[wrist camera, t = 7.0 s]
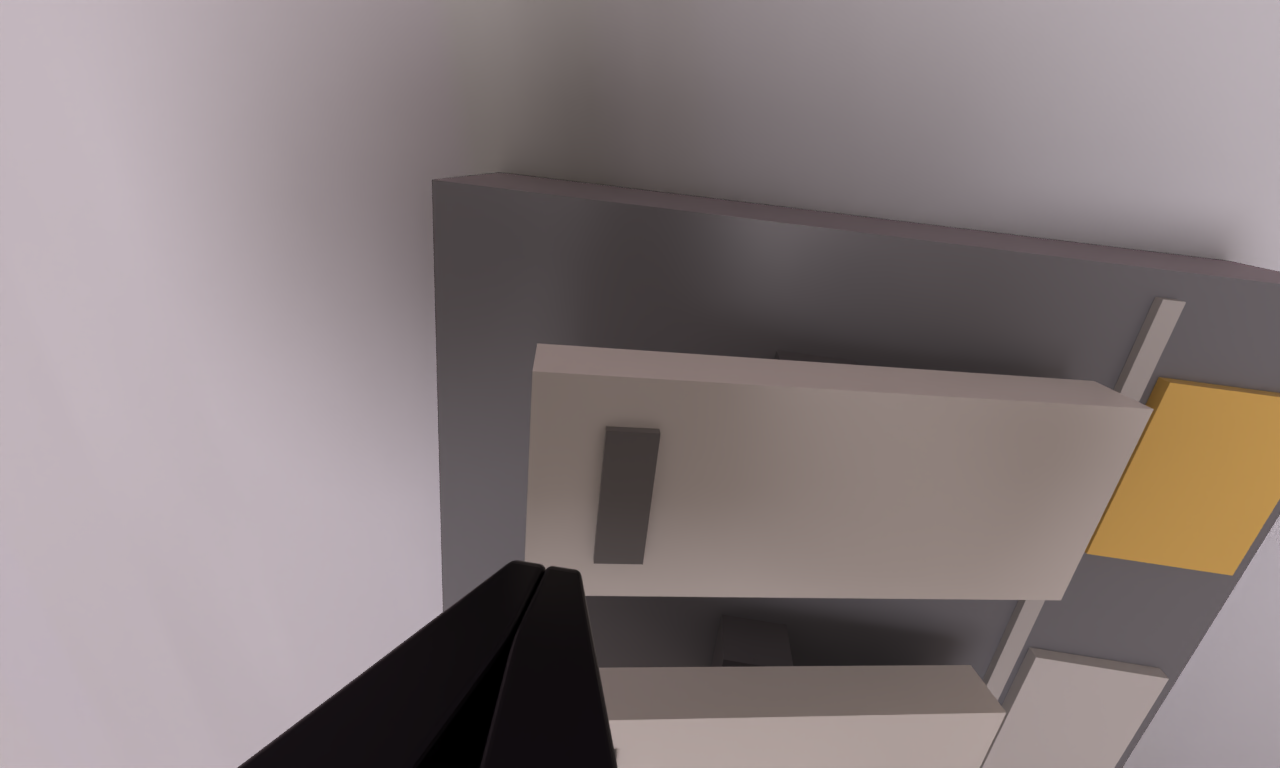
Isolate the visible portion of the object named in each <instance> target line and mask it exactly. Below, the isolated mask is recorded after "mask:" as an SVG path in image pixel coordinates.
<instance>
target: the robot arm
mask: <svg viewBox="0 0 1280 768" xmlns="http://www.w3.org/2000/svg"><path fill="white" fill-rule="evenodd" d="M238 768H617V762H616V757H615V752H614V746H613V741H612V736H611V730H610V725H609V720H608V714H607V709H606V704H605V698H604V693H603V688H602V682H601V677H600V672H599V666H598V661H597V655H596V650H595V645H594V639H593V634H592V629H591V623H590V618H589V613H588V607H587V602H586V597H585V591H584V586H583V581H582V576H581V573H580V572H579V571H578V570H576V569H570V568H564V567H557V566H550V567H548V568H547V569H545V567H544V566H543V565H542V564H539V563H532V562H526V561H520V560H513V561H511V562H509V563H507V564H506V565H505V566H503V567H502V568H501V569H500V570H498V571H497V572H496V573H494V574H493V575H492V576H490V577H489V578H488V579H486V580H485V581H484V582H482V583H481V584H480V585H478V586H477V587H476V588H474V589H473V590H472V591H470V592H469V593H468V594H466V595H465V596H464V597H462V598H461V599H460V600H459V601H457V602H456V603H455V604H453V605H452V606H451V607H449V608H448V609H447V610H445V611H444V612H443V613H441V614H440V615H439V616H437V617H436V618H435V619H433V620H432V621H431V622H429V623H428V624H427V625H425V626H424V627H423V628H422V629H420V630H419V631H418V632H416V633H415V634H414V635H412V636H411V637H410V638H408V639H407V640H406V641H404V642H403V643H402V644H400V645H399V646H398V647H396V648H395V649H394V650H392V651H391V652H390V653H388V654H387V655H386V656H384V657H383V658H382V659H381V660H379V661H378V662H377V663H375V664H374V665H373V666H371V667H370V668H369V669H367V670H366V671H365V672H363V673H362V674H361V675H359V676H358V677H357V678H355V679H354V680H353V681H351V682H350V683H349V684H347V685H346V686H345V687H343V688H342V689H341V690H340V691H338V692H337V693H336V694H334V695H333V696H332V697H330V698H329V699H328V700H326V701H325V702H324V703H322V704H321V705H320V706H318V707H317V708H316V709H314V710H313V711H312V712H310V713H309V714H308V715H306V716H305V717H304V718H302V719H301V720H300V721H299V722H297V723H296V724H295V725H293V726H292V727H291V728H289V729H288V730H287V731H285V732H284V733H283V734H281V735H280V736H279V737H277V738H276V739H275V740H273V741H272V742H271V743H269V744H268V745H267V746H265V747H264V748H263V749H262V750H260V751H259V752H258V753H256V754H255V755H254V756H252V757H251V758H250V759H248V760H247V761H246V762H244V763H243V764H242V765H240V766H239V767H238Z"/></svg>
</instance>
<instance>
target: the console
mask: <svg viewBox="0 0 1280 768" xmlns="http://www.w3.org/2000/svg"><path fill="white" fill-rule="evenodd" d="M432 200H433V239H434V278H435V317H436V356H437V395H438V434H439V473H440V512H441V551H442V590H443V612H444V611H445V610H447V609H448V608H449V607H451V606H452V605H453V604H455V603H456V602H457V601H459V600H460V599H461V598H462V597H464V596H465V595H466V594H468V593H469V592H470V591H472V590H473V589H474V588H476V587H477V586H478V585H480V584H481V583H482V582H484V581H485V580H486V579H488V578H489V577H490V576H492V575H493V574H494V573H496V572H497V571H498V570H500V569H501V568H502V567H503V566H505V565H506V564H507V563H509V562H511V561H513V560H520V561H525V540H526V516H527V491H528V467H529V442H530V418H531V393H532V371H533V365H534V359H535V353H536V348H537V343H540V344H555V345H570V346H584V347H599V348H614V349H629V350H643V351H658V352H673V353H688V354H703V355H717V356H732V357H747V358H762V359H777V360H791V361H806V362H821V363H836V364H851V365H865V366H880V367H895V368H910V369H924V370H939V371H954V372H969V373H984V374H998V375H1013V376H1028V377H1043V378H1058V379H1072V380H1087V381H1095V382H1097V383H1099V384H1102V385H1104V386H1106V387H1108V388H1110V389H1112V390H1114V391H1116V392H1118V393H1121V394H1123V395H1125V396H1127V397H1129V398H1131V399H1133V400H1135V401H1137V402H1140V403H1142V404H1144V405H1146V406H1148V407H1150V408H1152V409H1154V410H1153V412H1152V414H1151V416H1150V418H1149V420H1148V422H1147V424H1146V426H1145V428H1144V430H1143V432H1142V434H1141V436H1140V438H1139V441H1138V443H1137V445H1136V447H1135V449H1134V451H1133V453H1132V455H1131V457H1130V459H1129V461H1128V463H1127V465H1126V467H1125V469H1124V471H1123V473H1122V476H1121V478H1120V480H1119V482H1118V484H1117V486H1116V488H1115V490H1114V492H1113V494H1112V496H1111V498H1110V500H1109V502H1108V504H1107V506H1106V508H1105V511H1104V513H1103V515H1102V517H1101V519H1100V521H1099V523H1098V525H1097V527H1096V529H1095V531H1094V533H1093V535H1092V537H1091V539H1090V541H1089V543H1088V546H1087V548H1086V550H1085V552H1084V554H1083V556H1082V558H1081V560H1080V562H1079V564H1078V566H1077V568H1076V570H1075V572H1074V574H1073V576H1072V579H1071V581H1070V583H1069V585H1068V587H1067V589H1066V591H1065V593H1064V595H1063V597H1062V599H1061V600H972V599H868V598H764V597H661V596H585V597H586V602H587V607H588V613H589V618H590V623H591V629H592V634H593V639H594V645H595V650H596V655H597V661H598V666H599V668H618V667H759V666H900V665H971V666H972V667H973V669H974V670H975V671H976V673H977V674H978V675H979V677H980V678H981V679H982V681H983V682H984V683H985V685H986V686H987V687H988V689H989V690H990V691H991V693H992V694H993V695H994V697H995V698H996V699H997V701H998V702H999V703H1000V705H1001V706H1002V707H1003V709H1004V710H1005V711H1006V714H1005V716H1004V719H1003V721H1002V723H1001V725H1000V727H999V729H998V731H997V733H996V735H995V737H994V739H993V741H992V743H991V745H990V747H989V749H988V751H987V754H986V756H985V758H984V760H983V762H982V764H981V766H980V768H1122V767H1123V766H1124V764H1125V762H1126V761H1127V759H1128V757H1129V756H1130V754H1131V753H1132V751H1133V749H1134V748H1135V746H1136V745H1137V743H1138V741H1139V740H1140V738H1141V737H1142V735H1143V733H1144V732H1145V730H1146V729H1147V727H1148V725H1149V724H1150V722H1151V721H1152V719H1153V717H1154V716H1155V714H1156V713H1157V711H1158V709H1159V708H1160V706H1161V704H1162V703H1163V701H1164V700H1165V698H1166V696H1167V695H1168V693H1169V692H1170V690H1171V688H1172V687H1173V685H1174V684H1175V682H1176V680H1177V679H1178V677H1179V676H1180V674H1181V672H1182V671H1183V669H1184V668H1185V666H1186V664H1187V663H1188V661H1189V659H1190V658H1191V656H1192V655H1193V653H1194V651H1195V650H1196V648H1197V647H1198V645H1199V643H1200V642H1201V640H1202V639H1203V637H1204V635H1205V634H1206V632H1207V631H1208V629H1209V627H1210V626H1211V624H1212V623H1213V621H1214V619H1215V618H1216V616H1217V614H1218V613H1219V611H1220V610H1221V608H1222V606H1223V605H1224V603H1225V602H1226V600H1227V598H1228V597H1229V595H1230V594H1231V592H1232V590H1233V589H1234V587H1235V586H1236V584H1237V582H1238V581H1239V579H1240V578H1241V576H1242V574H1243V573H1244V571H1245V570H1246V568H1247V566H1248V565H1249V563H1250V561H1251V560H1252V558H1253V557H1254V555H1255V553H1256V552H1257V550H1258V549H1259V547H1260V545H1261V544H1262V542H1263V541H1264V539H1265V537H1266V536H1267V534H1268V533H1269V531H1270V529H1271V528H1272V526H1273V525H1274V523H1275V521H1276V520H1277V518H1278V516H1279V515H1280V272H1278V271H1274V270H1269V269H1264V268H1260V267H1255V266H1250V265H1245V264H1241V263H1236V262H1231V261H1225V260H1217V259H1209V258H1201V257H1192V256H1184V255H1176V254H1168V253H1159V252H1151V251H1143V250H1135V249H1126V248H1118V247H1110V246H1102V245H1093V244H1085V243H1077V242H1069V241H1060V240H1052V239H1044V238H1036V237H1027V236H1019V235H1011V234H1003V233H994V232H986V231H978V230H970V229H961V228H953V227H945V226H937V225H928V224H920V223H912V222H904V221H895V220H887V219H879V218H871V217H862V216H854V215H846V214H838V213H829V212H821V211H813V210H805V209H796V208H788V207H780V206H772V205H763V204H755V203H747V202H739V201H730V200H722V199H714V198H706V197H697V196H689V195H681V194H673V193H664V192H656V191H648V190H640V189H631V188H623V187H615V186H607V185H598V184H590V183H582V182H574V181H565V180H557V179H549V178H541V177H532V176H524V175H516V174H508V173H499V172H498V173H489V174H480V175H471V176H461V177H452V178H443V179H434V180H432Z"/></svg>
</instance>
